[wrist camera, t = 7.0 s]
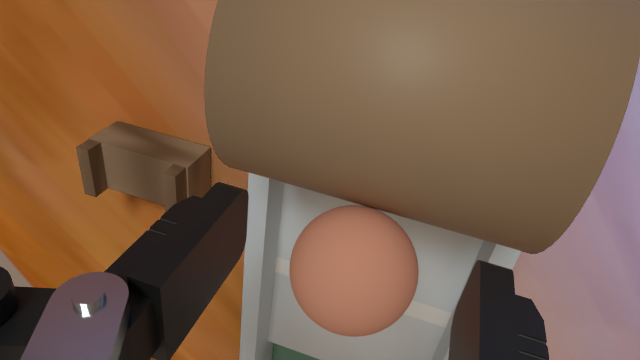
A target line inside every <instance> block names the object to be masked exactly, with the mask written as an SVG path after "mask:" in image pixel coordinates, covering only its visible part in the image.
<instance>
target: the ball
mask: <svg viewBox="0 0 640 360" xmlns="http://www.w3.org/2000/svg"><path fill="white" fill-rule="evenodd" d="M289 274H290V282H291V287H292V290H293V293H294V296H295V298H296V300H297V302H298V304H299V305H300V307H301V308H302V310H303V311H304V312H305V314H306V315H307V316H308V317H309V318H310V319H311V320H312V321H313V322H315V323H316V324H317V325H319V326H320V327H322V328H324V329H326V330H327V331H330V332H332V333H335V334H338V335H343V336H351V337H358V336H367V335H371V334H375V333H378V332H380V331H382V330H384V329H386V328H388V327H389V326H391V325H392V324H394V323H395V322H396V321H397V320H398V319H399V318H400V317H401V316H402V315H403V314H404V312H405V311H406V310H407V308H408V307H409V305H410V303H411V301H412V299H413V297H414V295H415V292H416V288H417V284H418V274H419V269H418V260H417V256H416V252H415V249H414V246H413V244H412V242H411V240H410V238H409V237H408V235H407V233H406V232H405V231H404V230H403V228H402V227H401V226H400V225H399V224H398V223H397V222H396V221H395V220H393V219H392V218H391V217H389V216H388V215H386V214H384V213H383V212H381V211H378V210H376V209H373V208H370V207H366V206H359V205H349V206H341V207H336V208H333V209H331V210H328V211H326V212H324V213H322V214H320V215H319V216H317V217H316V218H314V219H313V220H312V221H311V222H310V223H309V224H308V225H307V226H306V227H305V228H304V229H303V231H302V232H301V234H300V235H299V237H298V238H297V240H296V242H295V245H294V247H293V250H292V254H291V258H290V269H289Z"/></svg>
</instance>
